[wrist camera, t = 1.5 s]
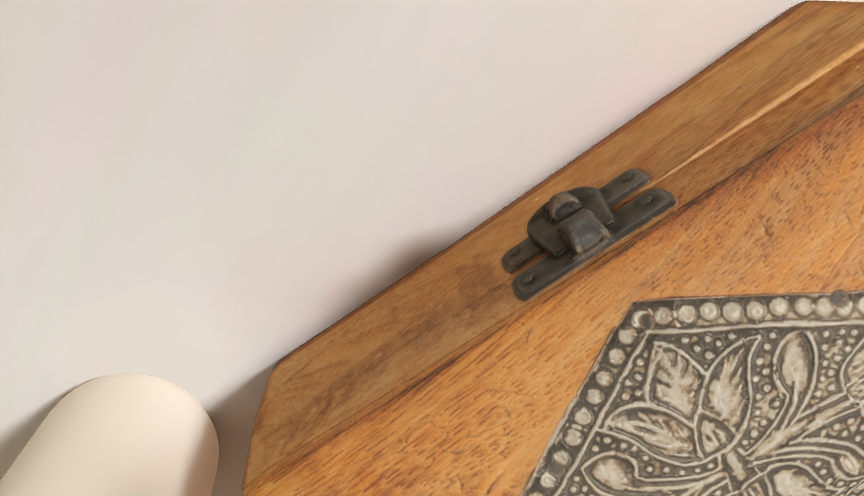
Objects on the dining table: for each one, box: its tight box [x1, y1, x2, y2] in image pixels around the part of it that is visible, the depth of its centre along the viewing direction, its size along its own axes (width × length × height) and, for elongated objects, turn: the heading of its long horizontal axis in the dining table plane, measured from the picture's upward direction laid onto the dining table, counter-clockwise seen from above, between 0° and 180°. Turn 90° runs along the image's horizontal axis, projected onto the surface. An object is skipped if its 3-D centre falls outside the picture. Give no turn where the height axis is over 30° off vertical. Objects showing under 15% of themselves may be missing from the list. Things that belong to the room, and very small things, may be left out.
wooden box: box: [242, 1, 864, 496], centre depth 31 cm, size 30×16×14 cm, turn 123°
